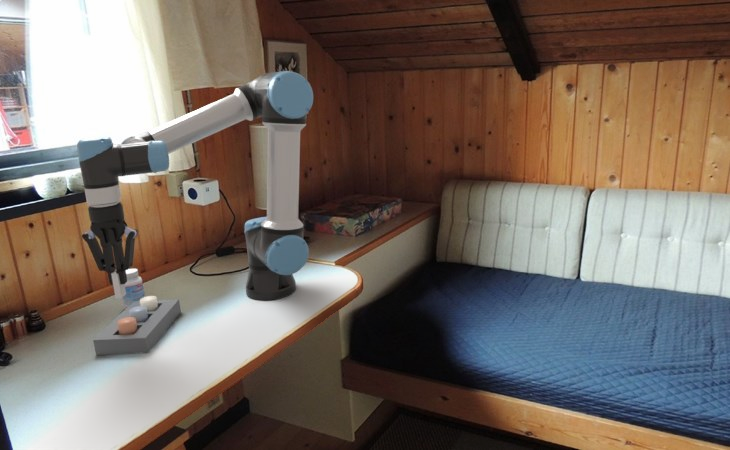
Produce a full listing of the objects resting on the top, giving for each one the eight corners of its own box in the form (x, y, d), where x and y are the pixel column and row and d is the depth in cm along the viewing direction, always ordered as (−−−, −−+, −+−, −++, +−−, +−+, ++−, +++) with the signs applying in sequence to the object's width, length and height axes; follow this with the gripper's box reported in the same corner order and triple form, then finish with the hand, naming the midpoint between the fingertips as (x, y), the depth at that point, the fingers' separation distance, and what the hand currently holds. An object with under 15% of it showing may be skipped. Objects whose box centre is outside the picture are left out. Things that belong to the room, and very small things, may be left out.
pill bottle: (139, 311, 166) (132, 274, 163) (120, 310, 167) (113, 274, 164) (150, 303, 172) (144, 267, 169) (132, 302, 173) (126, 267, 170)
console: (181, 312, 164) (179, 299, 163) (148, 352, 141) (145, 337, 139) (136, 314, 164) (133, 301, 163) (96, 354, 141) (93, 340, 140)
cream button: (161, 308, 160) (159, 295, 159) (155, 315, 156) (153, 301, 155) (145, 309, 161) (143, 296, 160) (139, 316, 156) (136, 302, 155)
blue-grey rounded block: (151, 319, 154) (149, 305, 153) (145, 326, 149) (142, 312, 148) (135, 320, 154) (132, 306, 153) (128, 327, 150) (125, 313, 149)
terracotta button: (141, 331, 147) (138, 316, 146) (133, 339, 143) (131, 324, 142) (124, 331, 147) (121, 317, 146) (116, 339, 143) (113, 325, 142)
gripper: (138, 198, 139) (152, 289, 145) (85, 201, 140) (102, 291, 146) (125, 205, 132) (140, 301, 138) (69, 208, 132) (87, 303, 139)
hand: (120, 296), depth 142 cm, fingers closed
